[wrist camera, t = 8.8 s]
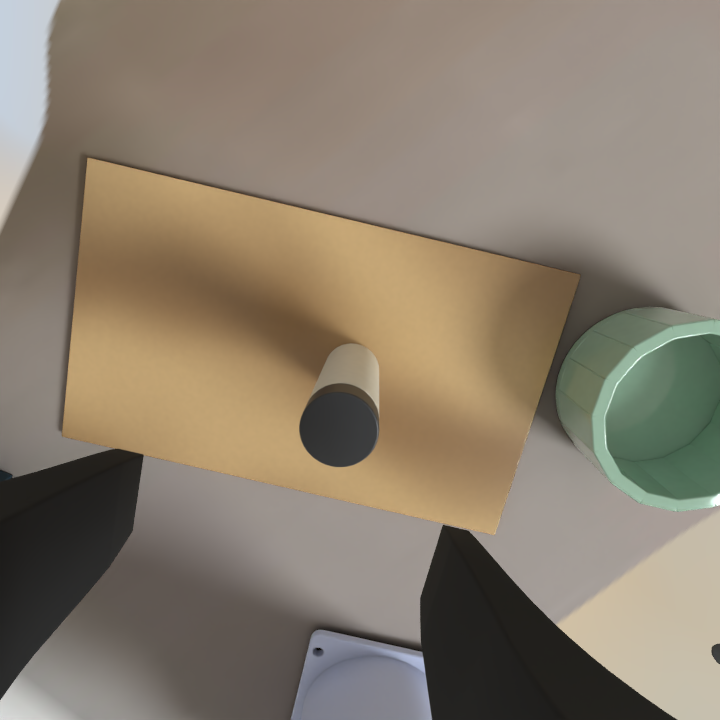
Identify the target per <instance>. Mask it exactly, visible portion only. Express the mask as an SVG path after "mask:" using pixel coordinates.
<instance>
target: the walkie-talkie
mask: <svg viewBox="0 0 720 720" xmlns="http://www.w3.org/2000/svg"><path fill="white" fill-rule="evenodd" d="M712 655H713V657H714V659H715V660H716V662H717V663H719V664H720V644H716V645H714V646H713V647H712Z"/></svg>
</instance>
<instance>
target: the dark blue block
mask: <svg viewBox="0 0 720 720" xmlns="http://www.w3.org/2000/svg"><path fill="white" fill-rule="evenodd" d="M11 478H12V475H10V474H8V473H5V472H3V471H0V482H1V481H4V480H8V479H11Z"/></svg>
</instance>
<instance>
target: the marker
mask: <svg viewBox="0 0 720 720" xmlns="http://www.w3.org/2000/svg"><path fill="white" fill-rule="evenodd" d="M299 433H300V438H301V441H302V444H303V446H304V447H305V449H306V450H307V452H308V453H309V454H310V455H311V456H312V457H313V458H314V459H316V460H317V461H319V462H321V463H323V464H325V465H328V466H332V467H348V466H352V465H355V464H357V463H359V462H361V461H363V460H364V459H365V458H367V457H368V456H369V455H370V454H371V452H372V451H373V449H374V448H375V446H376V444H377V441H378V437H379V365H378V361H377V359H376V357H375V355H374V354H373V353H372V352H371V351H370V350H369V349H368V348H366V347H364V346H362V345H359V344H353V343H350V344H344V345H341V346H339V347H337V348H336V349H334V350H333V351H332V352H331V353H330V354H329V356H328V358H327V360H326V362H325V364H324V367H323V369H322V371H321V373H320V376H319V378H318V380H317V382H316V385H315V387H314V389H313V391H312V393H311V396H310V398H309V400H308V402H307V405H306V407H305V409H304V411H303V414H302V416H301V419H300V424H299Z"/></svg>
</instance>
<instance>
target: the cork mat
mask: <svg viewBox="0 0 720 720" xmlns="http://www.w3.org/2000/svg"><path fill="white" fill-rule="evenodd" d="M580 277H581V275H580V274H576V273H572V272H568V271H564V270H560V269H555V268H551V267H547V266H543V265H539V264H534V263H530V262H526V261H522V260H518V259H513V258H509V257H505V256H501V255H497V254H492V253H488V252H484V251H480V250H475V249H471V248H467V247H463V246H459V245H454V244H450V243H446V242H442V241H438V240H433V239H429V238H425V237H421V236H417V235H412V234H408V233H404V232H400V231H396V230H391V229H387V228H383V227H379V226H374V225H370V224H366V223H362V222H358V221H353V220H349V219H345V218H341V217H337V216H332V215H328V214H324V213H320V212H316V211H311V210H307V209H303V208H299V207H295V206H290V205H286V204H282V203H278V202H273V201H269V200H265V199H261V198H257V197H252V196H248V195H244V194H240V193H236V192H231V191H227V190H223V189H219V188H215V187H210V186H206V185H202V184H198V183H194V182H189V181H185V180H181V179H177V178H172V177H168V176H164V175H160V174H156V173H151V172H147V171H143V170H139V169H135V168H130V167H126V166H122V165H118V164H114V163H109V162H105V161H101V160H97V159H93V158H87V169H86V180H85V190H84V201H83V212H82V223H81V234H80V244H79V255H78V266H77V277H76V288H75V298H74V309H73V320H72V331H71V342H70V353H69V363H68V374H67V385H66V396H65V407H64V417H63V428H62V437H67V438H71V439H75V440H80V441H84V442H89V443H93V444H97V445H102V446H106V447H110V448H115V449H122V450H127V451H131V452H135V453H139V454H144V455H146V456H150V457H154V458H159V459H163V460H167V461H172V462H176V463H181V464H185V465H189V466H194V467H198V468H203V469H207V470H211V471H216V472H220V473H224V474H229V475H233V476H238V477H242V478H246V479H251V480H255V481H260V482H264V483H268V484H273V485H277V486H281V487H286V488H290V489H295V490H299V491H303V492H308V493H312V494H317V495H321V496H325V497H330V498H334V499H338V500H343V501H347V502H352V503H356V504H360V505H365V506H369V507H374V508H378V509H382V510H387V511H391V512H396V513H400V514H404V515H409V516H413V517H417V518H422V519H426V520H431V521H435V522H439V523H444V524H448V525H453V526H457V527H461V528H466V529H470V530H474V531H479V532H483V533H488V534H492V535H495V532H496V529H497V526H498V523H499V520H500V517H501V514H502V511H503V508H504V505H505V502H506V499H507V496H508V493H509V490H510V487H511V484H512V481H513V478H514V475H515V472H516V469H517V466H518V463H519V460H520V457H521V454H522V451H523V448H524V445H525V442H526V439H527V436H528V433H529V430H530V427H531V424H532V421H533V418H534V415H535V412H536V409H537V406H538V403H539V400H540V397H541V394H542V391H543V388H544V385H545V382H546V379H547V376H548V373H549V370H550V367H551V364H552V361H553V358H554V355H555V352H556V349H557V346H558V343H559V340H560V337H561V334H562V331H563V328H564V325H565V322H566V319H567V316H568V313H569V310H570V307H571V304H572V301H573V298H574V295H575V292H576V289H577V286H578V283H579V280H580ZM350 343H353V344H359V345H362V346H364V347H366V348H368V349H369V350H370V351H371V352H372V353H373V354H374V355H375V357H376V359H377V361H378V365H379V437H378V441H377V444H376V446H375V448H374V449H373V451H372V452H371V454H370V455H369V456H368V457H367V458H365V459H364V460H363V461H361V462H359V463H357V464H355V465H352V466H348V467H332V466H328V465H325V464H323V463H321V462H319V461H317V460H316V459H314V458H313V457H312V456H311V455H310V454H309V453H308V452H307V450H306V449H305V447H304V446H303V444H302V441H301V438H300V433H299V424H300V419H301V416H302V414H303V411H304V409H305V407H306V405H307V402H308V400H309V398H310V396H311V393H312V391H313V389H314V387H315V385H316V382H317V380H318V378H319V376H320V373H321V371H322V369H323V367H324V364H325V362H326V360H327V358H328V356H329V354H330V353H331V352H332V351H333V350H334V349H336V348H337V347H339V346H341V345H344V344H350Z"/></svg>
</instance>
